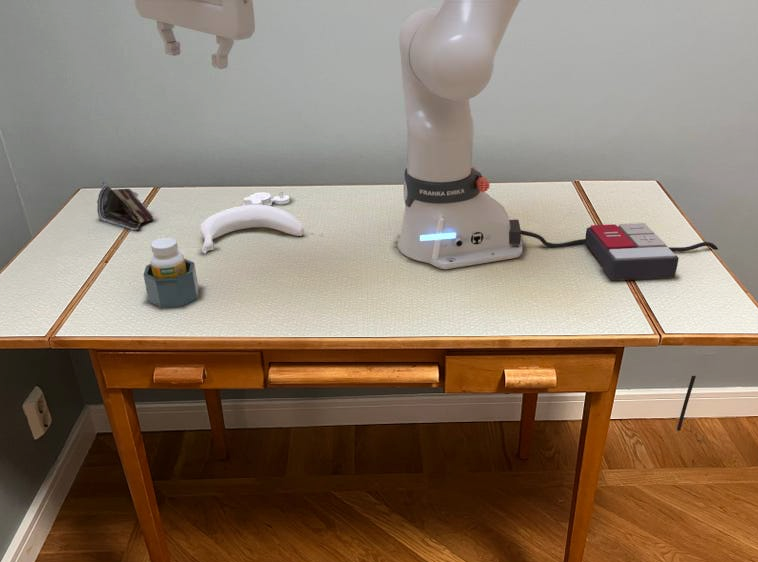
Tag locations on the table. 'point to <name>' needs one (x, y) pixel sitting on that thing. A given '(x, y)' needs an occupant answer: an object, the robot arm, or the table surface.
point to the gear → (265, 199)
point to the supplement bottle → (167, 259)
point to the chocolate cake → (122, 208)
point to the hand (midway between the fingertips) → (196, 61)
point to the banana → (247, 222)
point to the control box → (631, 252)
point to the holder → (172, 287)
